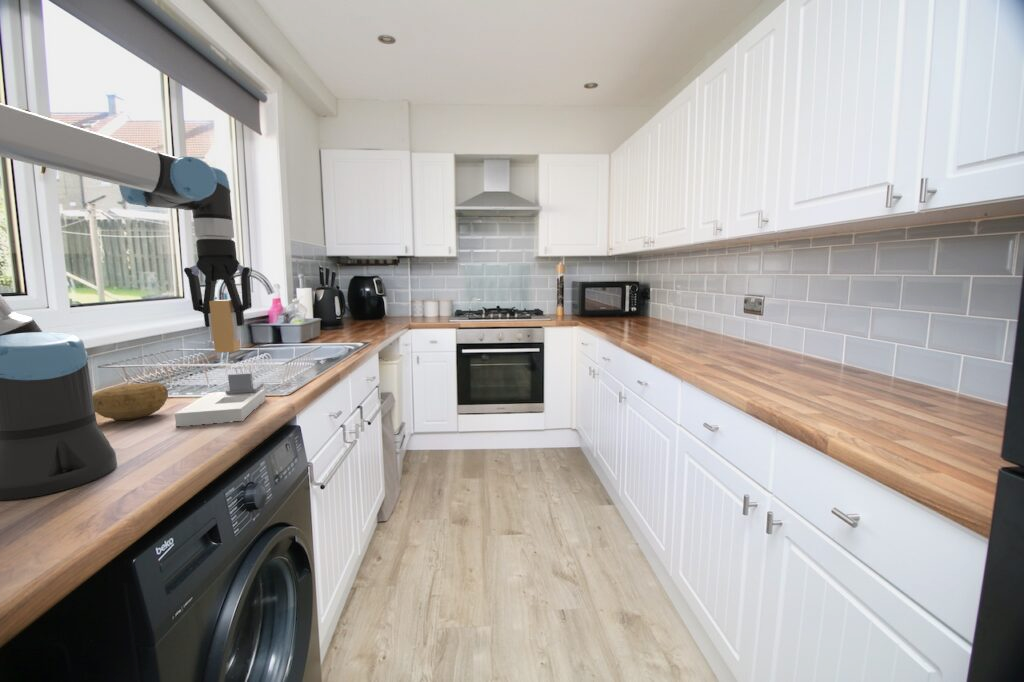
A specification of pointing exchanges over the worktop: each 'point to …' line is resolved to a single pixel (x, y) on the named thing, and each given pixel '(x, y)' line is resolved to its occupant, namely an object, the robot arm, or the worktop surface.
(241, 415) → the socket board
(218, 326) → the plug
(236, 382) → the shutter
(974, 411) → the worktop surface
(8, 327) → the robot arm
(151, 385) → the potato
